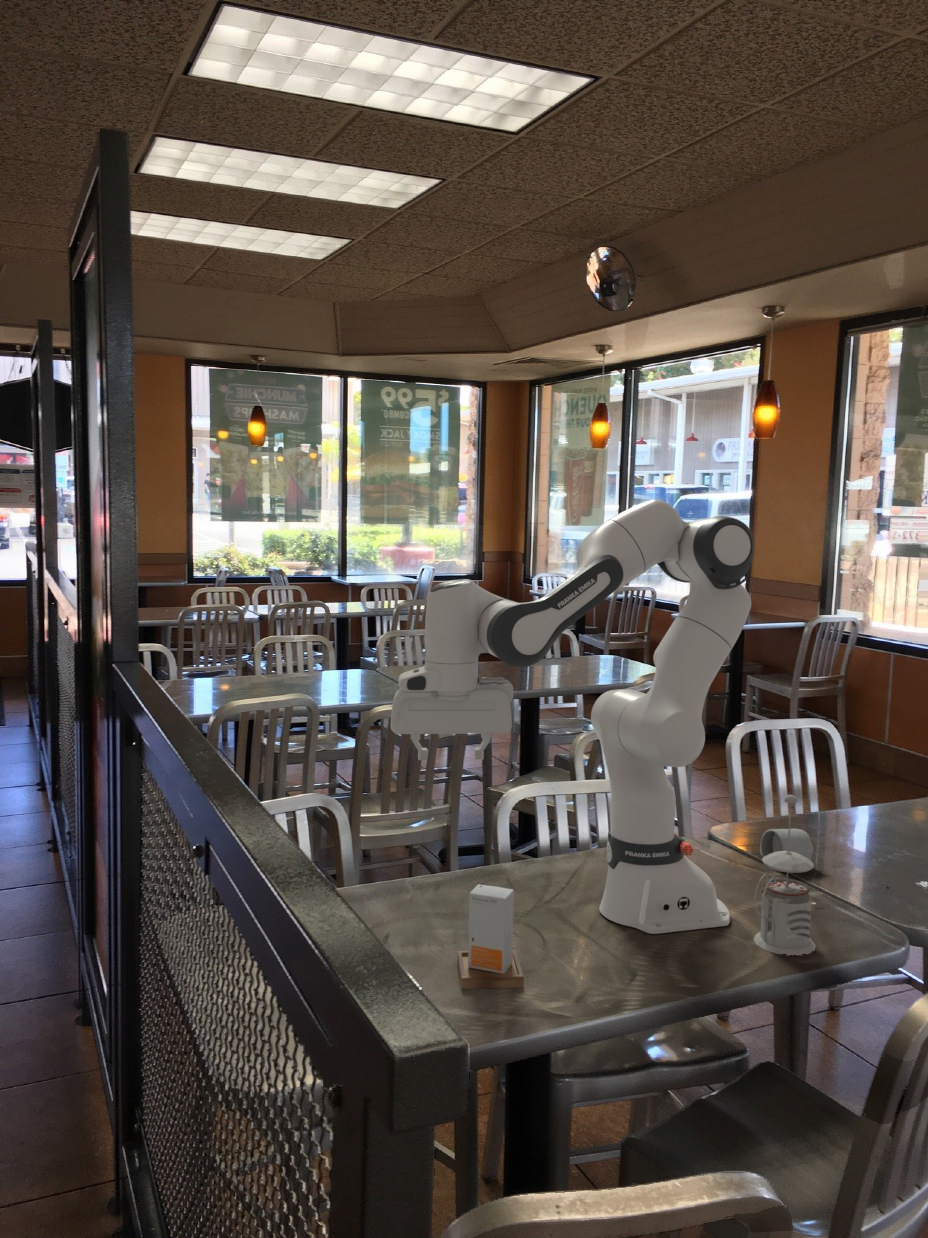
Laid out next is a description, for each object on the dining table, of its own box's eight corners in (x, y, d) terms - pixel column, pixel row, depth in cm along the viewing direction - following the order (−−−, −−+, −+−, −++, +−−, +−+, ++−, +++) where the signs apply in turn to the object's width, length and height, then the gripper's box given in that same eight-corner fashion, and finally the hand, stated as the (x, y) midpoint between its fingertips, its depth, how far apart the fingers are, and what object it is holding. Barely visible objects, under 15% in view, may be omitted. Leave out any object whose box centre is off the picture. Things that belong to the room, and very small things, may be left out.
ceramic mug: (816, 868, 199) (817, 831, 198) (783, 873, 196) (784, 835, 195) (781, 853, 209) (782, 817, 208) (749, 857, 206) (750, 821, 205)
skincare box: (467, 969, 151) (467, 893, 150) (476, 957, 155) (477, 883, 154) (505, 975, 149) (506, 898, 148) (513, 964, 153) (514, 888, 152)
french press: (828, 947, 163) (836, 798, 160) (780, 963, 157) (787, 808, 154) (780, 926, 171) (786, 783, 168) (733, 941, 165) (738, 793, 162)
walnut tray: (515, 960, 157) (515, 949, 157) (523, 987, 148) (523, 976, 148) (457, 961, 156) (457, 951, 156) (461, 989, 147) (461, 978, 147)
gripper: (511, 674, 169) (510, 754, 171) (390, 674, 168) (390, 755, 169) (516, 680, 163) (514, 763, 164) (390, 680, 161) (390, 764, 163)
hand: (450, 759), depth 167 cm, fingers open, 8 cm apart
